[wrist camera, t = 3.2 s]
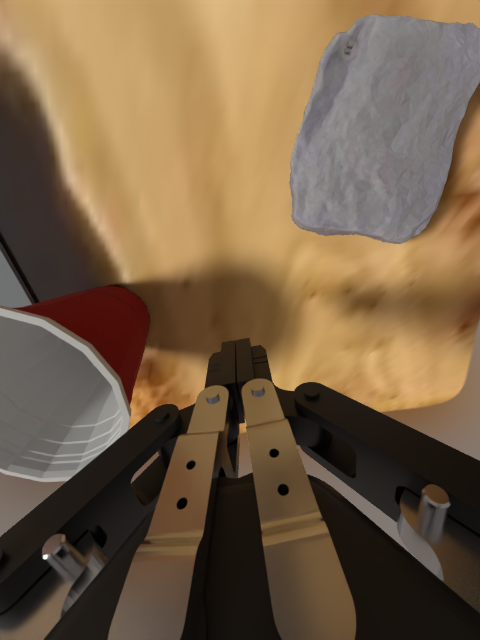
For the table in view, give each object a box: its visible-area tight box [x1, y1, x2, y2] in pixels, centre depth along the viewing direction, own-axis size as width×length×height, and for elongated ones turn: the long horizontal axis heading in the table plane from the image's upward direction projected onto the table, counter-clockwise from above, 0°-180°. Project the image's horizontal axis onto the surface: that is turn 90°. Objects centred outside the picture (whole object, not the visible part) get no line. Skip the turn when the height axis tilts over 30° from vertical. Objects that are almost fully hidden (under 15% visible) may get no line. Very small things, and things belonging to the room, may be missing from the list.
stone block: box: [289, 15, 480, 244], centre depth 17 cm, size 12×5×10 cm
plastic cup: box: [0, 286, 150, 482], centre depth 18 cm, size 11×11×12 cm
